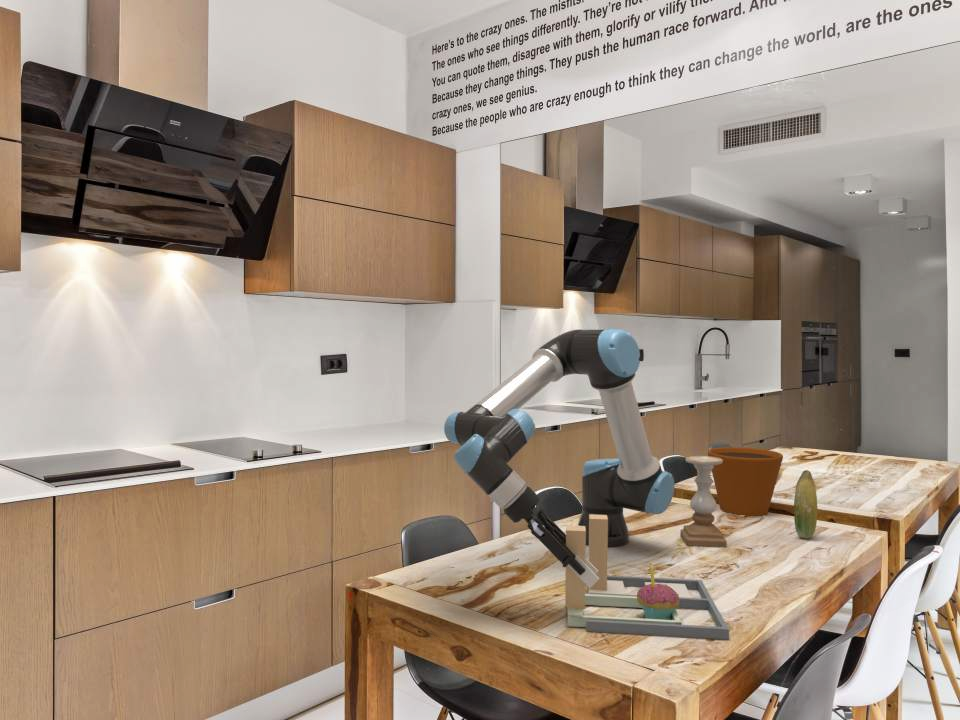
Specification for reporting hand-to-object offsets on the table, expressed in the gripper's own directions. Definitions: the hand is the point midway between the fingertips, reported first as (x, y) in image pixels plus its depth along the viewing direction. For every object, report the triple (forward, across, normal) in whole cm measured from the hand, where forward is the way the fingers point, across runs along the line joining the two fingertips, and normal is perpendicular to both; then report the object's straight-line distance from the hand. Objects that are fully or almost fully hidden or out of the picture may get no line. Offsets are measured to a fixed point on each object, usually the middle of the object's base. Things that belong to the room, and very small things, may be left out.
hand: (593, 579), depth 145 cm
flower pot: (+45, -99, +32) cm, 113 cm away
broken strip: (+13, -13, +2) cm, 19 cm away
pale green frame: (+9, 0, -1) cm, 9 cm away
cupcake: (+15, 0, +4) cm, 15 cm away
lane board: (+14, -6, +3) cm, 15 cm away
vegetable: (+51, -66, +39) cm, 92 cm away
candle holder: (+30, -60, +18) cm, 69 cm away
